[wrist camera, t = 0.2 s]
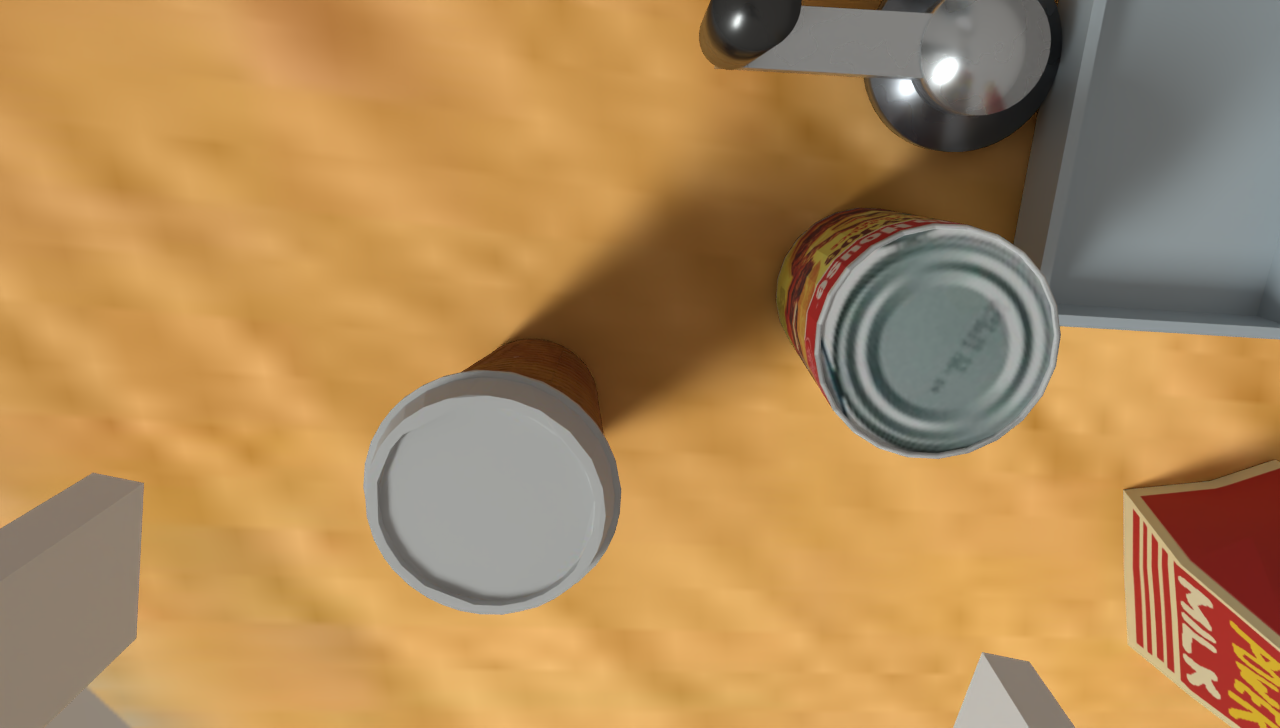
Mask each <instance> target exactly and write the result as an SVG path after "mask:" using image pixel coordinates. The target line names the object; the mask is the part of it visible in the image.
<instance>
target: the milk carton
mask: <svg viewBox="0 0 1280 728" xmlns="http://www.w3.org/2000/svg"><path fill="white" fill-rule="evenodd" d="M1123 518H1124V583H1125V602H1126V622H1127V641H1128V645H1129V646H1130V647H1131V648H1132V649H1134V650H1135V651H1136V652H1137V653H1139V654H1140V655H1141V656H1142V657H1143V658H1145V659H1146V660H1147V661H1148V662H1150V663H1151V664H1152V665H1153V666H1154V667H1156V668H1157V669H1158V670H1159V671H1160V672H1162V673H1163V674H1164V675H1165V676H1167V677H1168V678H1169V679H1170V680H1171V681H1173V682H1174V683H1175V684H1176V685H1178V686H1179V687H1180V688H1181V689H1182V690H1184V691H1185V692H1186V693H1187V694H1188V695H1190V696H1191V697H1192V698H1194V699H1195V700H1196V701H1198V702H1199V703H1200V704H1201V705H1203V706H1204V707H1205V708H1207V709H1208V710H1209V711H1211V712H1212V713H1213V714H1215V715H1216V716H1217V717H1219V718H1220V719H1221V720H1223V721H1224V722H1225V723H1227V724H1228V725H1229V726H1231V727H1232V728H1280V462H1279V461H1278V460H1272V461H1269V462H1266V463H1263V464H1260V465H1257V466H1254V467H1251V468H1248V469H1245V470H1242V471H1239V472H1236V473H1233V474H1230V475H1227V476H1224V477H1221V478H1218V479H1215V480H1212V481H1205V482H1195V483H1185V484H1175V485H1166V486H1156V487H1146V488H1136V489H1126V490H1123Z"/></svg>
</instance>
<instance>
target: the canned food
mask: <svg viewBox="0 0 1280 728" xmlns="http://www.w3.org/2000/svg"><path fill="white" fill-rule="evenodd" d="M776 304H777V309H778V314H779V319H780V322H781V325H782V327H783V329H784V331H785V333H786V335H787V337H788V339H789V340H790V342H791V344H792V345H793V347H794V348H795V350H796V352H797V353H798V355H799V356H800V358H801V360H802V361H803V363H804V364H805V366H806V368H807V369H808V371H809V372H810V374H811V375H812V377H813V379H814V380H815V382H816V383H817V385H818V387H819V388H820V390H821V391H822V393H823V395H824V396H825V398H826V399H827V401H828V403H829V404H830V406H831V407H832V409H833V410H834V412H835V413H836V414H837V415H838V416H839V417H840V418H841V419H842V420H843V421H844V423H845V424H846V425H847V426H848V427H849V428H850V429H851V430H852V431H853V432H854V433H855V434H857V435H858V436H860V437H862V438H863V439H865V440H866V441H868V442H870V443H871V444H873V445H874V446H876V447H877V448H880V449H883V450H886V451H889V452H892V453H896V454H899V455H902V456H905V457H914V458H933V459H940V458H945V457H950V456H955V455H960V454H966V453H970V452H972V451H974V450H976V449H979V448H981V447H983V446H985V445H987V444H990V443H992V442H994V441H996V440H998V439H1000V438H1001V437H1002V436H1003V435H1005V434H1006V433H1007V432H1008V431H1010V430H1011V429H1012V428H1014V427H1015V426H1016V425H1017V424H1019V423H1020V422H1021V421H1023V420H1024V418H1025V417H1026V416H1027V415H1028V413H1029V412H1030V411H1031V410H1032V408H1033V407H1034V406H1035V404H1036V403H1037V402H1038V401H1039V399H1040V398H1041V397H1042V396H1043V394H1044V392H1045V389H1046V387H1047V385H1048V383H1049V380H1050V378H1051V376H1052V374H1053V371H1054V369H1055V367H1056V362H1057V355H1058V349H1059V343H1060V336H1061V334H1060V325H1059V317H1058V309H1057V303H1056V301H1055V299H1054V296H1053V294H1052V292H1051V289H1050V287H1049V285H1048V282H1047V280H1046V278H1045V276H1044V275H1043V273H1042V272H1041V271H1040V270H1039V269H1038V267H1037V266H1036V265H1035V264H1034V263H1033V261H1032V260H1031V259H1030V258H1029V257H1028V255H1027V254H1026V253H1025V252H1024V251H1022V250H1021V249H1019V248H1018V247H1016V246H1015V245H1013V244H1012V243H1010V242H1009V241H1007V240H1006V239H1004V238H1003V237H1001V236H1000V235H998V234H995V233H992V232H988V231H985V230H982V229H979V228H976V227H973V226H970V225H965V224H960V223H955V222H949V221H944V220H938V219H933V218H928V217H922V216H917V215H911V214H906V213H901V212H895V211H890V210H884V209H874V208H855V209H850V210H846V211H841V212H837V213H834V214H832V215H830V216H828V217H826V218H824V219H822V220H820V221H818V222H817V223H815V224H814V225H812V226H811V227H810V228H809V229H808V230H807V231H806V232H804V233H803V234H802V235H801V236H800V237H799V238H798V239H797V240H796V242H795V243H794V245H793V246H792V248H791V249H790V251H789V252H788V254H787V255H786V257H785V259H784V261H783V264H782V267H781V270H780V273H779V276H778V278H777V291H776Z"/></svg>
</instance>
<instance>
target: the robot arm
mask: <svg viewBox="0 0 1280 728" xmlns="http://www.w3.org/2000/svg"><path fill="white" fill-rule="evenodd" d="M143 491H144V483H141V482H136V481H131V480H126V479H121V478H116V477H111V476H106V475H101V474H96V473H92V474H90V475H89V476H87V477H85V478H84V479H82V480H80V481H79V482H77V483H75V484H74V485H72V486H70V487H69V488H67V489H65V490H64V491H62V492H60V493H59V494H57V495H55V496H54V497H52V498H50V499H49V500H47V501H45V502H44V503H42V504H41V505H39V506H37V507H36V508H34V509H32V510H31V511H29V512H27V513H26V514H24V515H22V516H21V517H19V518H17V519H16V520H14V521H12V522H11V523H9V524H7V525H6V526H4V527H2V528H1V529H0V728H44V727H45V726H46V725H47V724H48V723H49V722H50V721H52V720H53V719H54V718H55V717H56V716H57V715H58V714H59V713H60V712H61V711H62V710H63V709H64V708H65V707H66V706H67V705H68V704H69V703H70V702H71V701H72V700H73V699H74V698H75V697H76V696H77V695H78V694H79V693H80V692H81V691H82V690H83V689H85V688H86V687H87V686H88V685H89V684H90V683H91V682H92V681H93V680H94V679H95V678H96V677H97V676H98V675H99V674H100V673H101V672H102V671H103V670H104V669H105V668H106V667H107V666H108V665H109V664H110V663H111V662H112V661H113V660H114V659H115V658H116V657H118V656H119V655H120V654H121V653H122V652H123V651H124V650H125V649H126V648H127V647H128V646H129V645H130V644H131V643H132V642H133V641H134V640H135V639H136V635H137V614H138V594H139V573H140V553H141V532H142V512H143ZM953 728H1075V727H1074V725H1073V724H1072V722H1071V721H1070V719H1069V718H1068V717H1067V715H1066V714H1065V712H1064V711H1063V709H1062V708H1061V707H1060V705H1059V704H1058V702H1057V701H1056V699H1055V698H1054V697H1053V695H1052V694H1051V692H1050V691H1049V689H1048V688H1047V686H1046V685H1045V684H1044V682H1043V681H1042V679H1041V678H1040V676H1039V675H1038V674H1037V672H1036V671H1035V669H1034V668H1033V666H1032V665H1031V664H1030V662H1028V661H1023V660H1018V659H1013V658H1008V657H1003V656H998V655H994V654H989V653H984V652H982V654H981V657H980V659H979V662H978V665H977V667H976V670H975V672H974V675H973V678H972V680H971V683H970V685H969V688H968V691H967V693H966V696H965V699H964V701H963V704H962V706H961V709H960V712H959V714H958V717H957V719H956V722H955V725H954V727H953Z"/></svg>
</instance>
